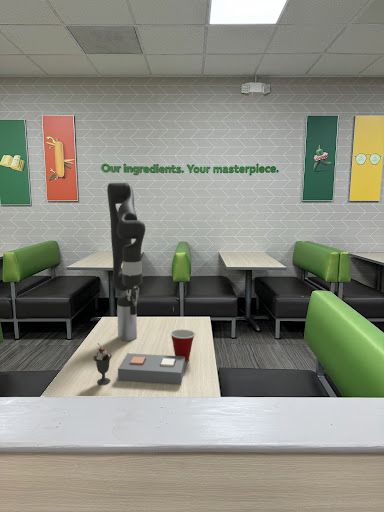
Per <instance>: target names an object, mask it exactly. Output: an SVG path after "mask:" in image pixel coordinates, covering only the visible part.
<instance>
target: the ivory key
mask: <svg viewBox="0 0 384 512" xmlns="http://www.w3.org/2000/svg"><path fill="white" fill-rule="evenodd" d="M174 366H175V359H167V358H163V360H162V362H161V367H174Z"/></svg>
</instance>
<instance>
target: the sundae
mask: <svg viewBox="0 0 384 512" xmlns="http://www.w3.org/2000/svg"><path fill="white" fill-rule="evenodd" d="M97 345H99V347H100V348H98V350H97V352H96V354H95V355H94V356H93V361H95V364H96V368H97V372H98V373H99V374H101V378H99V379H98V380H96V384H98V385H99V386H105V385H106V386H107V385H108V384H110V382H111V379H110V378H108V377H106V373H108V371H109V368H110V364H111V363H110V361H111V359H112V358H113V357H112V356H113V355H112V354H110V353H108V352H107V350H105V349H103V348H102V346H101V345H100V343H97Z"/></svg>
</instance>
